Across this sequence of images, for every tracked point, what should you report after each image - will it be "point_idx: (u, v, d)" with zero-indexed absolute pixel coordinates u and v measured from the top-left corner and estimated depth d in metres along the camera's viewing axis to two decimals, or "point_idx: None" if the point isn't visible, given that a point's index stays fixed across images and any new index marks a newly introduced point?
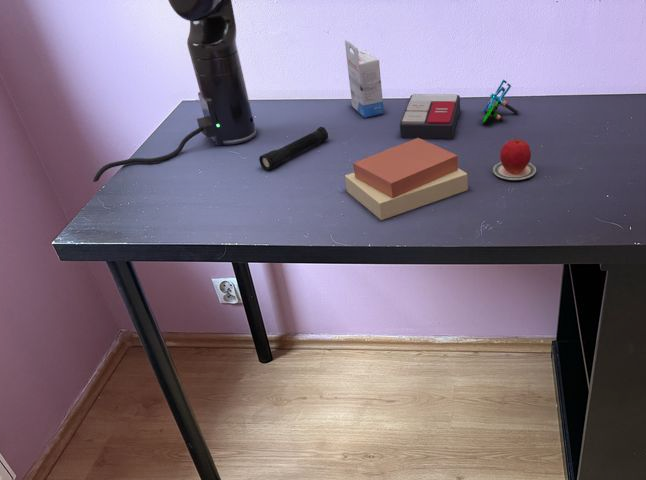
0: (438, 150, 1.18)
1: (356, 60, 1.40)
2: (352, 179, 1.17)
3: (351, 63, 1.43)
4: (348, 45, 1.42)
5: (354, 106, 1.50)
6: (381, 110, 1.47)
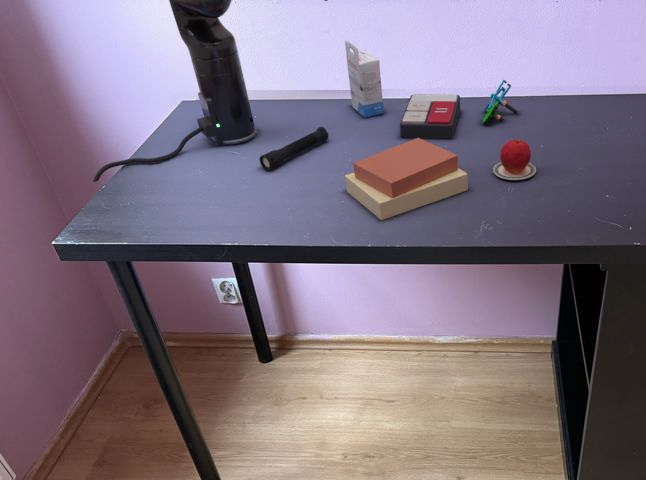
0: (438, 150, 1.18)
1: (356, 60, 1.40)
2: (352, 179, 1.17)
3: (351, 63, 1.43)
4: (348, 45, 1.42)
5: (354, 106, 1.50)
6: (381, 110, 1.47)
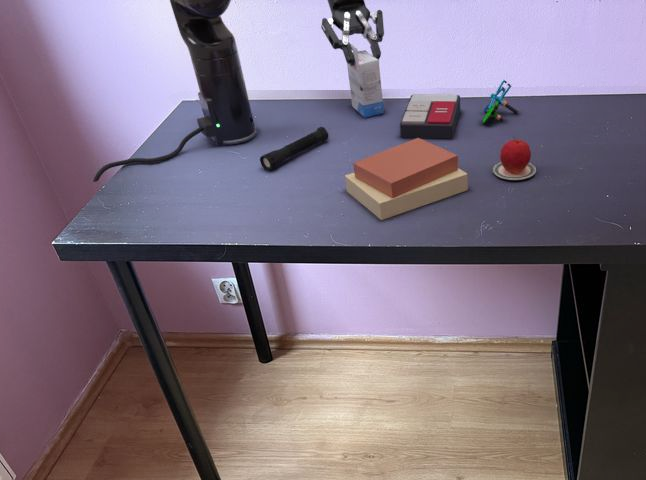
0: (438, 150, 1.18)
1: (356, 60, 1.40)
2: (352, 179, 1.17)
3: None
4: None
5: (354, 106, 1.50)
6: (381, 110, 1.47)
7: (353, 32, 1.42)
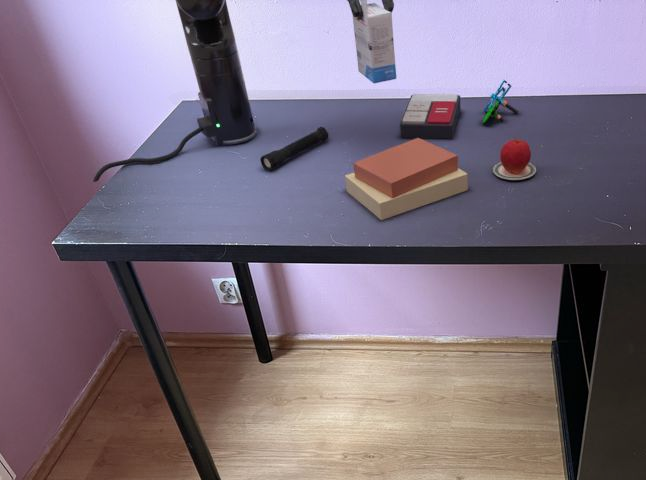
0: (438, 150, 1.18)
1: (364, 12, 1.16)
2: (352, 179, 1.17)
3: None
4: None
5: (361, 70, 1.27)
6: (393, 75, 1.24)
7: None
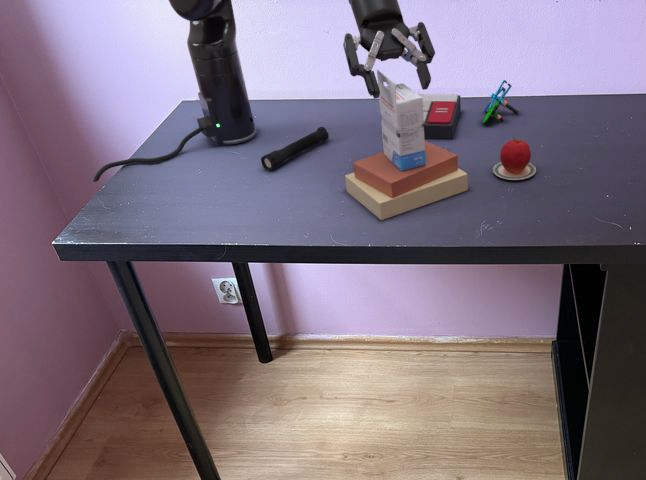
0: (438, 150, 1.18)
1: (392, 98, 1.06)
2: (352, 179, 1.17)
3: (385, 100, 1.09)
4: (382, 78, 1.07)
5: (387, 154, 1.16)
6: (423, 161, 1.13)
7: (388, 57, 1.08)
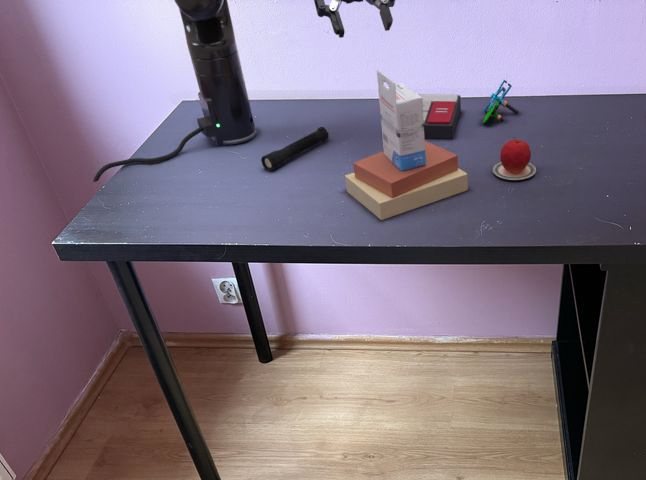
0: (438, 150, 1.18)
1: (392, 98, 1.06)
2: (352, 179, 1.17)
3: (385, 100, 1.09)
4: (382, 78, 1.07)
5: (387, 154, 1.16)
6: (423, 161, 1.13)
7: (353, 0, 1.16)
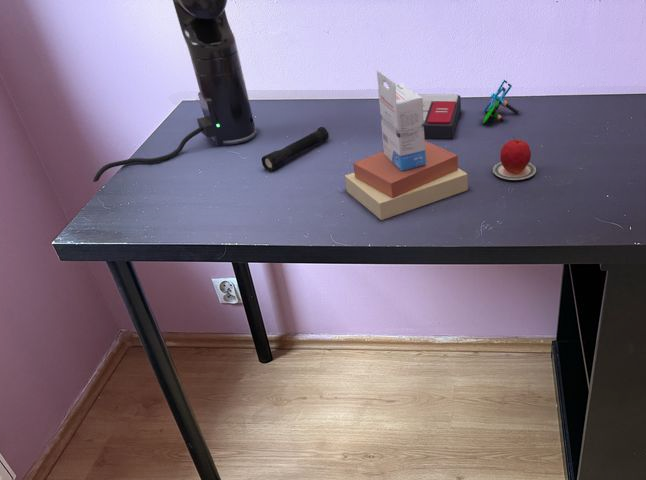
0: (438, 150, 1.18)
1: (392, 98, 1.06)
2: (352, 179, 1.17)
3: (385, 100, 1.09)
4: (382, 78, 1.07)
5: (387, 154, 1.16)
6: (423, 161, 1.13)
7: None
